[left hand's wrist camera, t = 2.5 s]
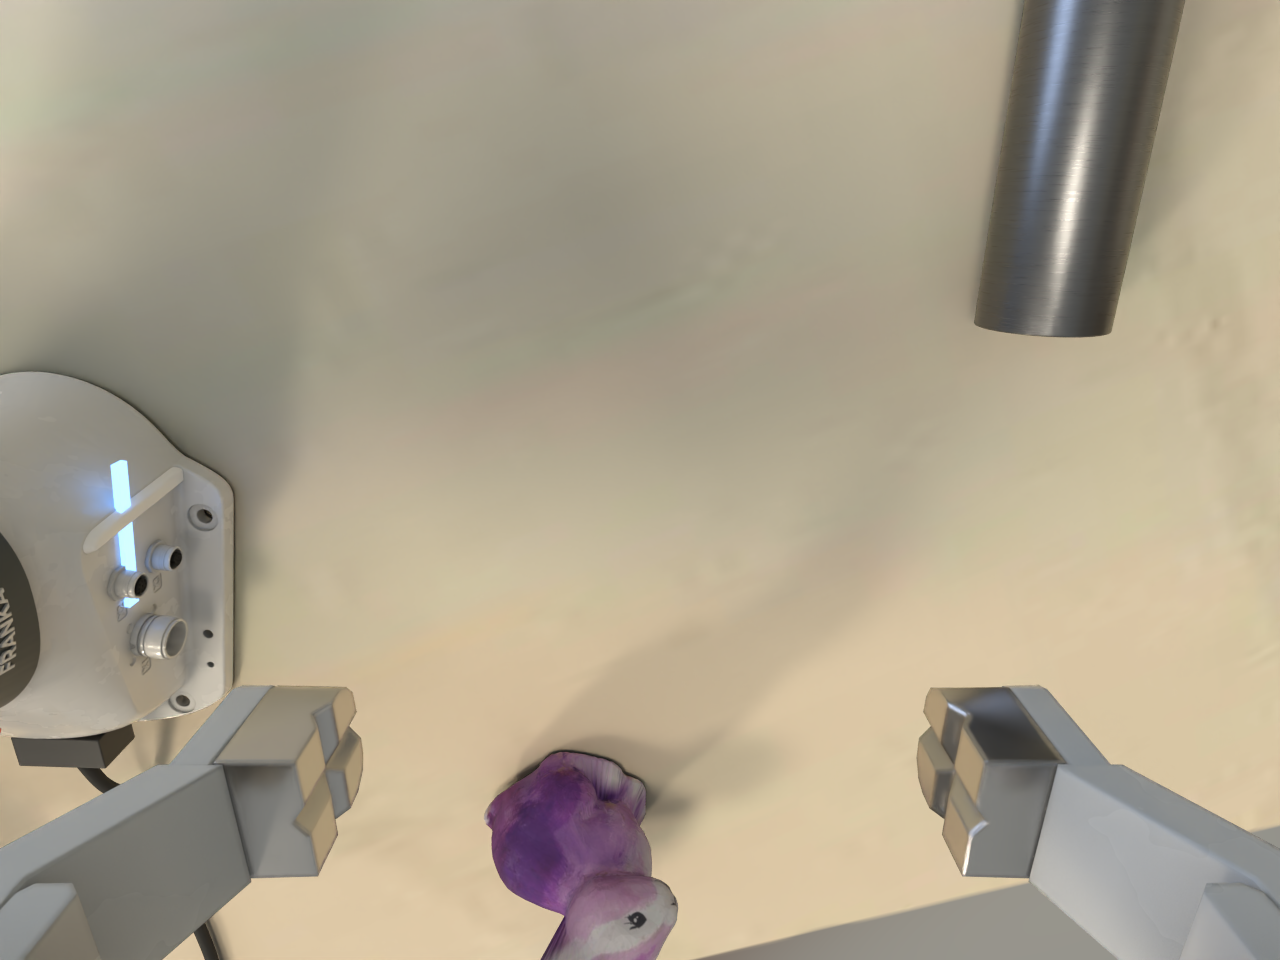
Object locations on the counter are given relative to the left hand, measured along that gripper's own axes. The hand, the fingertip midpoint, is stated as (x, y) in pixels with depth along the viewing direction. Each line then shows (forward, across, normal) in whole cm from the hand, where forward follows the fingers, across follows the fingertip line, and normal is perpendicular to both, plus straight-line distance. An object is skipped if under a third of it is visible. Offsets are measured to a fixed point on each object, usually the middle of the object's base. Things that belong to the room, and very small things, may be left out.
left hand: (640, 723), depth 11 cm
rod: (+31, -20, -15) cm, 40 cm away
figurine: (+31, +4, +31) cm, 44 cm away
